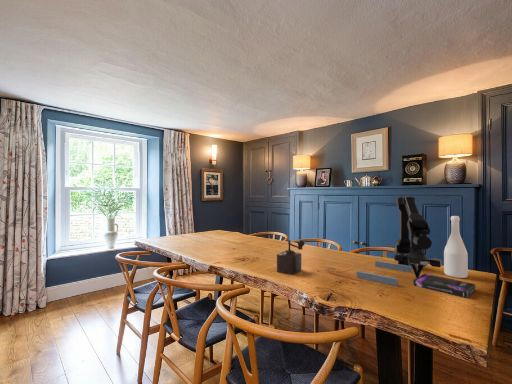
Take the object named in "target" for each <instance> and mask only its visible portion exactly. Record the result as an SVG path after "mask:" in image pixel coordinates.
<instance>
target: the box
mask: <svg viewBox="0 0 512 384" xmlns="http://www.w3.org/2000/svg"><path fill="white" fill-rule="evenodd" d="M413 286H415V287H419V288H422V289H426V290H431V291H435V292H439V293H442V292H443V293H444V294H448V295H451V296H455V297H459V298H464V299H468V298H470V296H471V295H472V294H473V293H474V292H475V291H476V283H473V282H472V283H471V282H467V281H462V280H459V279H458V280H457V279H453V278H449V277H444V276H439V275H433V274H429V273H423V274H422V275H421V274H420V275H419V277H418V278H416V277H415V279H413Z"/></svg>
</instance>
